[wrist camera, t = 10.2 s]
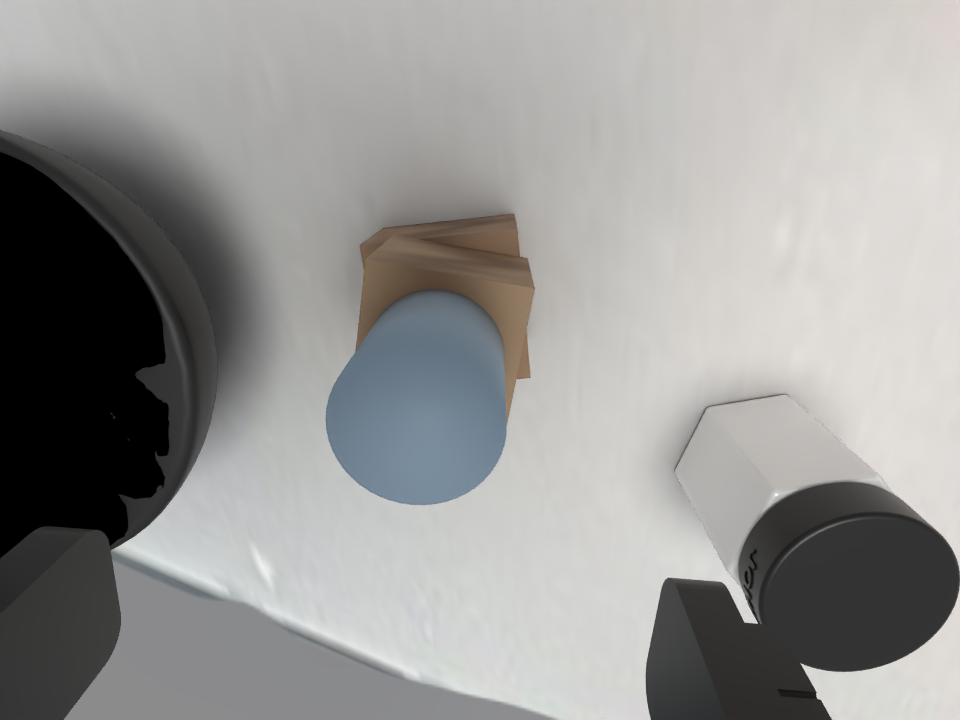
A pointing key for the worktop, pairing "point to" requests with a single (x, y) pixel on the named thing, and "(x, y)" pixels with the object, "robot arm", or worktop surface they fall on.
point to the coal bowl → (93, 353)
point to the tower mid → (452, 287)
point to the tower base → (462, 245)
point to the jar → (816, 537)
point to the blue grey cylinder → (422, 400)
